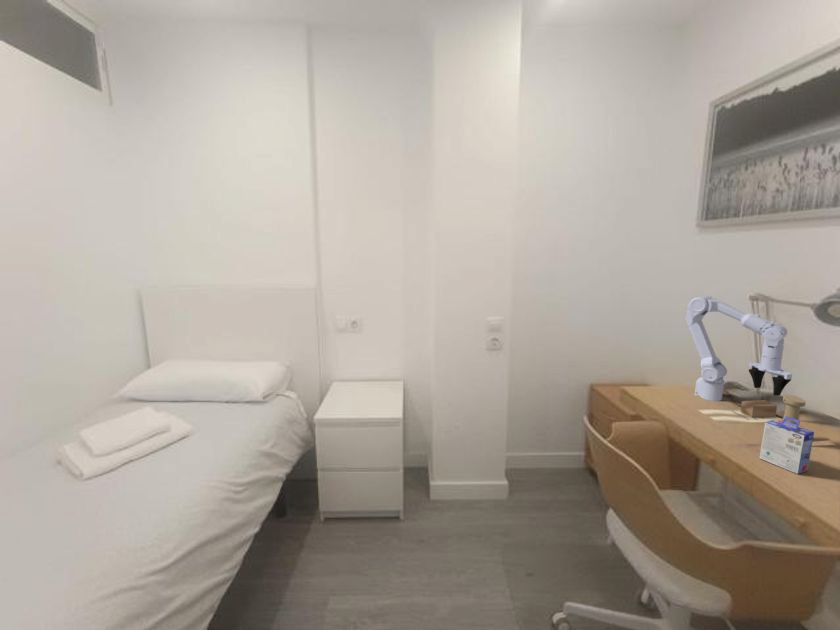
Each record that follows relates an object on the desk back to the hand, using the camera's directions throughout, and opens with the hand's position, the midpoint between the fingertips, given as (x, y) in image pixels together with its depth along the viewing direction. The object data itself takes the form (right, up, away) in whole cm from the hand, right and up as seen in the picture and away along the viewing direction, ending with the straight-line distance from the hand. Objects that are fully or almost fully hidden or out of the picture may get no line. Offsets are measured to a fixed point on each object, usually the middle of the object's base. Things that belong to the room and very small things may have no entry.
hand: (766, 391), depth 151 cm
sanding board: (-11, -10, -1) cm, 15 cm away
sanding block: (-5, -8, -1) cm, 10 cm away
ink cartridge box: (-22, -16, -31) cm, 42 cm away
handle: (-9, -13, -18) cm, 24 cm away
